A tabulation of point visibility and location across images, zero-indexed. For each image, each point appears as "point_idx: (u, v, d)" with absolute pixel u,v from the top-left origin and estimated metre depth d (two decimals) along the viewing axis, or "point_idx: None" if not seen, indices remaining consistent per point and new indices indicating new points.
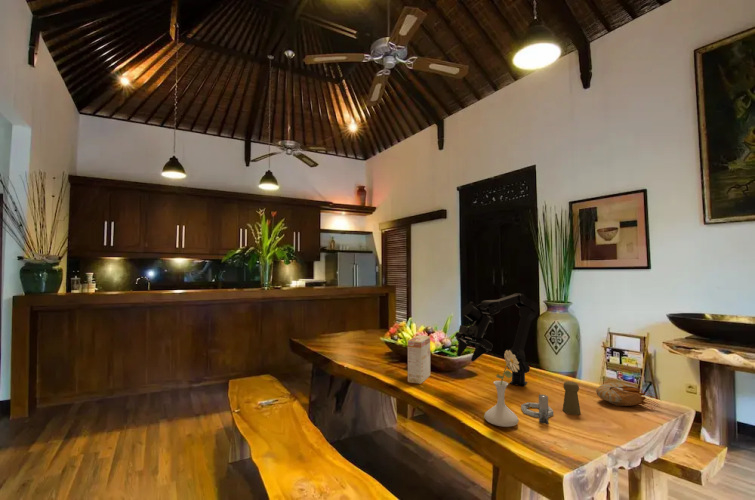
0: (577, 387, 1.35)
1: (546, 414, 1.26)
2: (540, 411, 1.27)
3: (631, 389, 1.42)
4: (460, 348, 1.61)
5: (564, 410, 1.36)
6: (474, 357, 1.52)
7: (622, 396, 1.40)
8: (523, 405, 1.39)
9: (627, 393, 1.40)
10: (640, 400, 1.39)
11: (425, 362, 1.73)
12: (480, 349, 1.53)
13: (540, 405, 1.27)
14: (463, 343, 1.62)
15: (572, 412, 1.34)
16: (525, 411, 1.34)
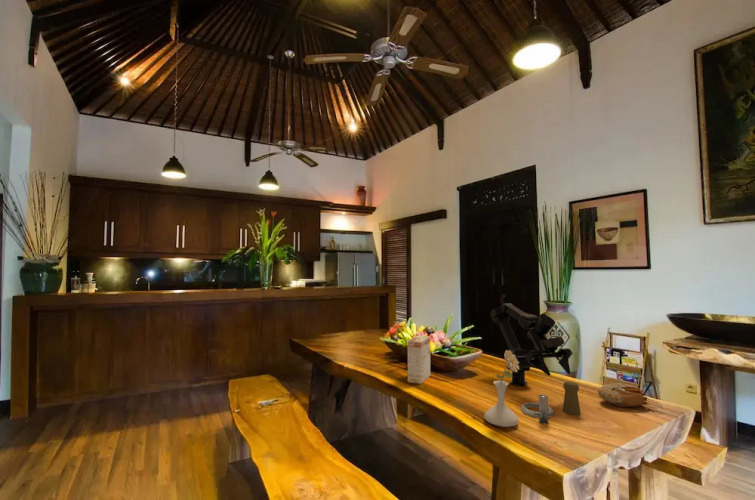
0: (577, 387, 1.35)
1: (546, 414, 1.26)
2: (540, 411, 1.27)
3: (633, 390, 1.42)
4: None
5: (564, 410, 1.36)
6: None
7: (625, 397, 1.39)
8: (523, 405, 1.39)
9: (629, 394, 1.39)
10: (642, 401, 1.39)
11: (425, 362, 1.73)
12: None
13: (540, 405, 1.27)
14: None
15: (572, 412, 1.34)
16: (525, 411, 1.34)
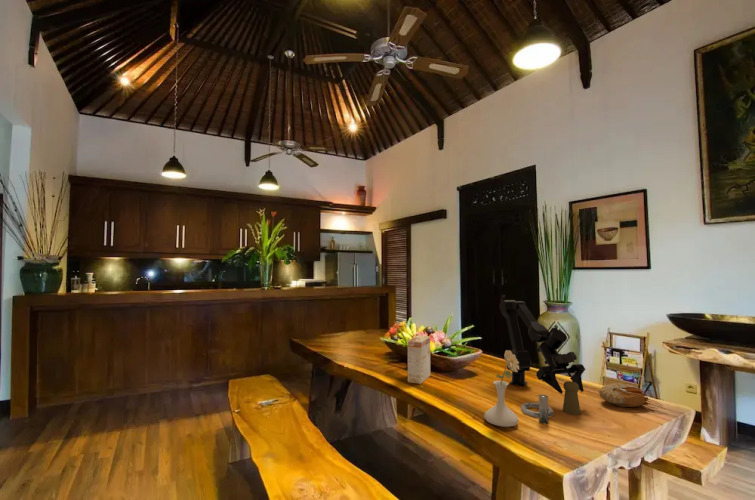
0: (577, 387, 1.35)
1: (546, 414, 1.26)
2: (540, 411, 1.27)
3: (634, 390, 1.41)
4: None
5: (564, 410, 1.36)
6: None
7: (626, 397, 1.39)
8: (523, 405, 1.39)
9: (631, 394, 1.39)
10: (643, 401, 1.39)
11: (425, 362, 1.73)
12: None
13: (540, 405, 1.27)
14: None
15: (572, 412, 1.34)
16: (525, 411, 1.34)
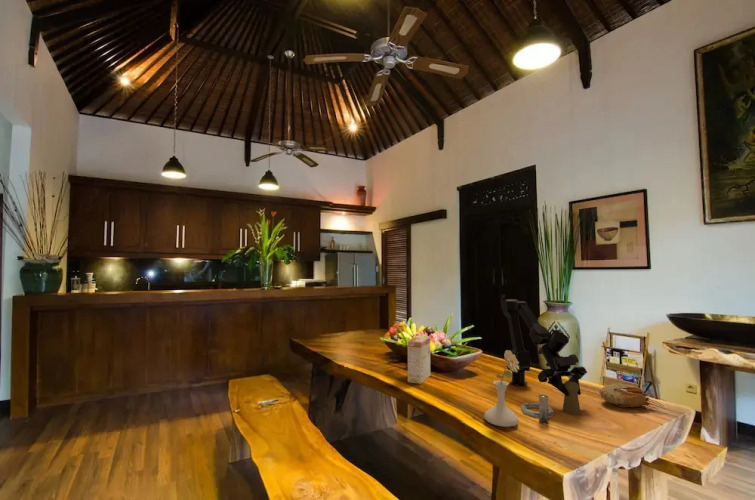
0: (577, 387, 1.35)
1: (546, 414, 1.26)
2: (540, 411, 1.27)
3: (635, 390, 1.41)
4: None
5: (564, 410, 1.36)
6: None
7: (627, 397, 1.38)
8: (523, 405, 1.39)
9: (632, 394, 1.39)
10: (644, 401, 1.38)
11: (425, 362, 1.73)
12: None
13: (540, 405, 1.27)
14: None
15: (572, 412, 1.34)
16: (525, 411, 1.34)
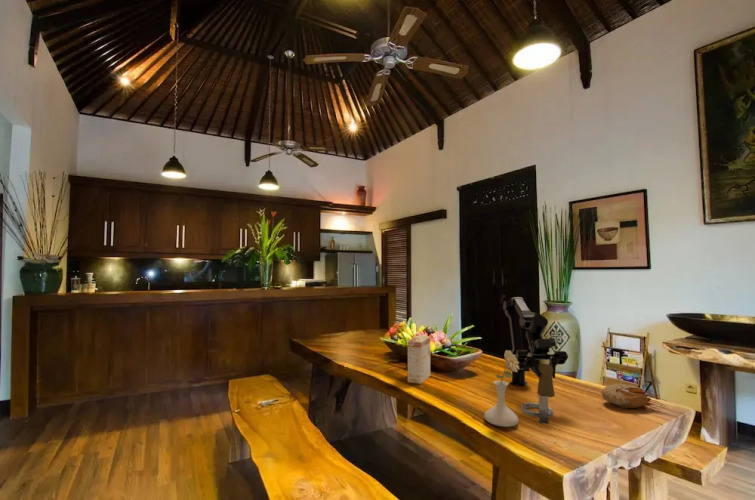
0: (550, 369, 1.34)
1: (546, 414, 1.26)
2: (540, 411, 1.27)
3: (637, 390, 1.41)
4: None
5: (537, 392, 1.37)
6: None
7: (629, 398, 1.38)
8: (523, 405, 1.39)
9: (634, 395, 1.38)
10: (646, 402, 1.38)
11: (425, 362, 1.73)
12: None
13: (540, 405, 1.27)
14: None
15: (543, 394, 1.34)
16: (525, 411, 1.34)
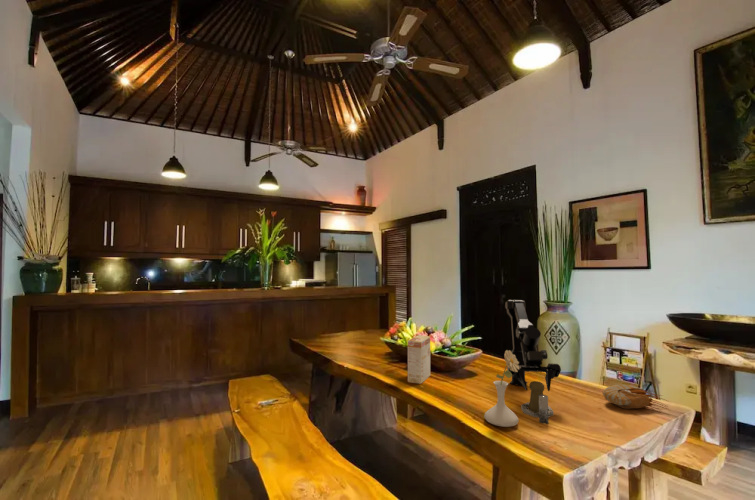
0: (540, 387, 1.34)
1: (546, 414, 1.26)
2: (540, 411, 1.27)
3: (638, 391, 1.40)
4: None
5: (529, 409, 1.37)
6: None
7: (631, 399, 1.37)
8: (523, 405, 1.39)
9: (636, 395, 1.38)
10: (648, 402, 1.37)
11: (425, 362, 1.73)
12: None
13: (540, 405, 1.27)
14: None
15: (534, 411, 1.34)
16: (525, 411, 1.34)
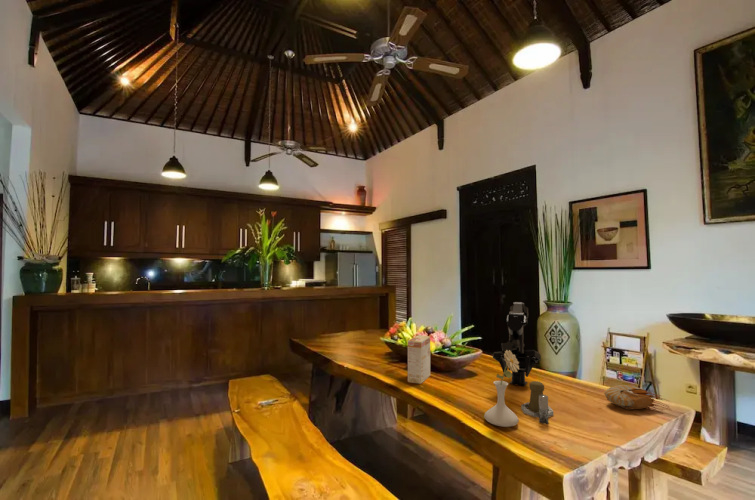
0: (540, 387, 1.34)
1: (546, 414, 1.26)
2: (540, 411, 1.27)
3: (640, 391, 1.40)
4: (504, 368, 1.53)
5: (529, 409, 1.37)
6: (528, 372, 1.46)
7: (634, 399, 1.36)
8: (523, 405, 1.39)
9: (638, 396, 1.37)
10: (650, 402, 1.37)
11: (425, 362, 1.73)
12: (530, 362, 1.48)
13: (540, 405, 1.27)
14: (504, 362, 1.55)
15: (534, 411, 1.34)
16: (525, 411, 1.34)
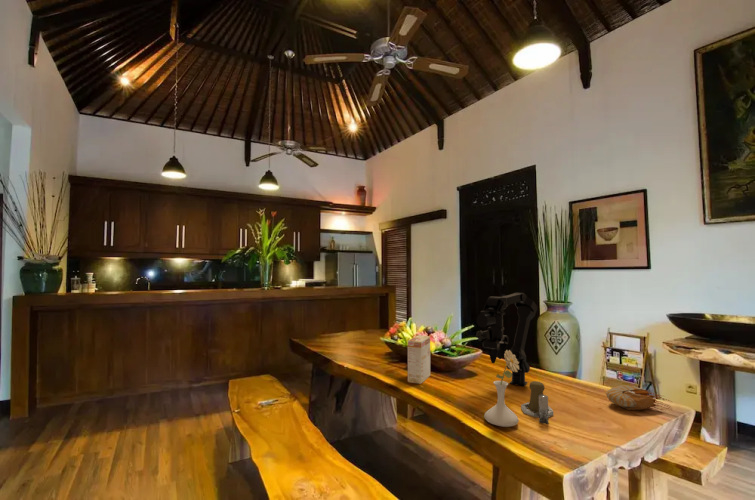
0: (540, 387, 1.34)
1: (546, 414, 1.26)
2: (540, 411, 1.27)
3: (642, 392, 1.39)
4: (498, 351, 1.64)
5: (529, 409, 1.37)
6: (492, 359, 1.55)
7: (636, 400, 1.36)
8: (523, 405, 1.39)
9: (640, 397, 1.36)
10: (652, 403, 1.37)
11: (425, 362, 1.73)
12: (493, 350, 1.55)
13: (540, 405, 1.27)
14: (500, 344, 1.64)
15: (534, 411, 1.34)
16: (525, 411, 1.34)
